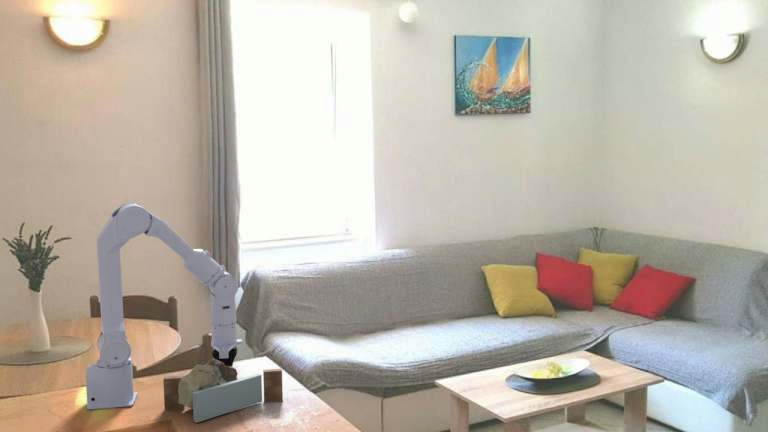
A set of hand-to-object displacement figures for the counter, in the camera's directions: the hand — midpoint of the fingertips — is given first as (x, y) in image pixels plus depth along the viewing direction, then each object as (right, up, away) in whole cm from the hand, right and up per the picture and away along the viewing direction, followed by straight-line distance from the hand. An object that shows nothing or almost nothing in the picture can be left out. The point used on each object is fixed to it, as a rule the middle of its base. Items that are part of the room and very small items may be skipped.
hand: (225, 379), depth 168 cm
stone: (+2, +2, -18) cm, 18 cm away
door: (+4, -3, -17) cm, 18 cm away
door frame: (+2, -3, -12) cm, 13 cm away
